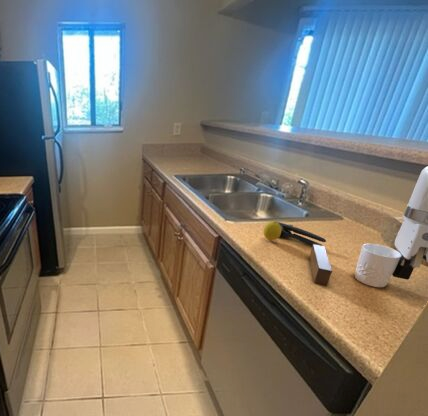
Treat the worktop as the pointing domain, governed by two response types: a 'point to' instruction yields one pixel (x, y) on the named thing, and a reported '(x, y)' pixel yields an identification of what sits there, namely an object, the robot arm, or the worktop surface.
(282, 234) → the can opener
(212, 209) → the worktop surface
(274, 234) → the lemon
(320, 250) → the walnut rail
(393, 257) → the white cup
